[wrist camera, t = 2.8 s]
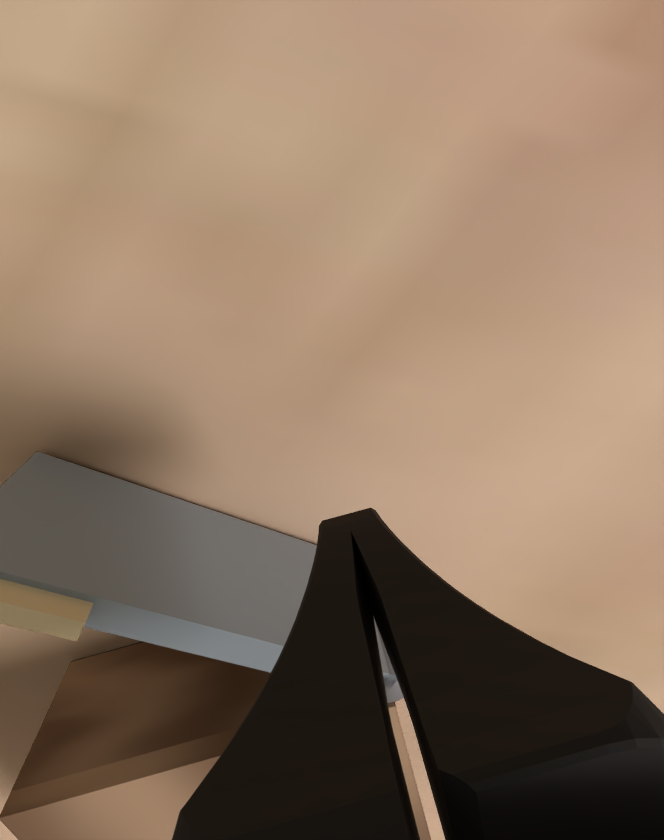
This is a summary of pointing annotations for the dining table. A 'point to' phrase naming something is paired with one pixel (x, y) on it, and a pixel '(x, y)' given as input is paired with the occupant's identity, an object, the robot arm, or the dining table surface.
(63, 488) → the door
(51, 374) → the dining table surface
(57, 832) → the cabinet
